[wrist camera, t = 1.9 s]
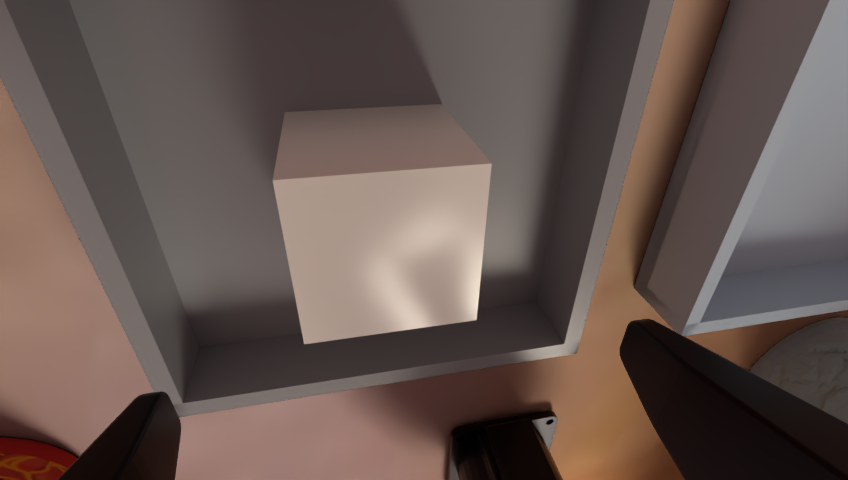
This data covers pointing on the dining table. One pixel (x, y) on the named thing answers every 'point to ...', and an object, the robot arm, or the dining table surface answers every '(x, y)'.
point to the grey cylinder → (812, 365)
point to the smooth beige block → (381, 219)
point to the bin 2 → (759, 177)
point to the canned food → (32, 460)
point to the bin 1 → (257, 151)
